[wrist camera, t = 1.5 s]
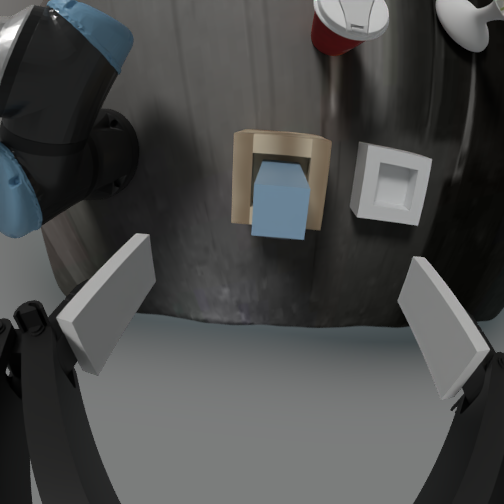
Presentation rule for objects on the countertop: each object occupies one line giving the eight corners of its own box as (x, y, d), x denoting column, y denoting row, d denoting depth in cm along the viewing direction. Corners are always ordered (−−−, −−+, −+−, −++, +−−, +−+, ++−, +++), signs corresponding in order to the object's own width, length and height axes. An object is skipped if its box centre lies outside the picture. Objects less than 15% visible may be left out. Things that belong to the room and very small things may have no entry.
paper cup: (357, 66, 30) (396, 45, 17) (303, 59, 30) (316, 30, 18) (356, 20, 26) (389, -16, 14) (302, 13, 26) (313, -31, 14)
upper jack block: (242, 196, 40) (231, 222, 31) (245, 129, 36) (234, 133, 26) (310, 202, 40) (320, 230, 30) (317, 135, 35) (331, 141, 26)
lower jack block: (349, 206, 39) (356, 217, 35) (358, 141, 35) (368, 144, 31) (406, 214, 39) (417, 225, 35) (417, 154, 34) (431, 159, 30)
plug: (260, 197, 32) (251, 242, 21) (263, 159, 30) (254, 184, 19) (295, 200, 32) (302, 246, 21) (298, 162, 30) (310, 188, 19)
